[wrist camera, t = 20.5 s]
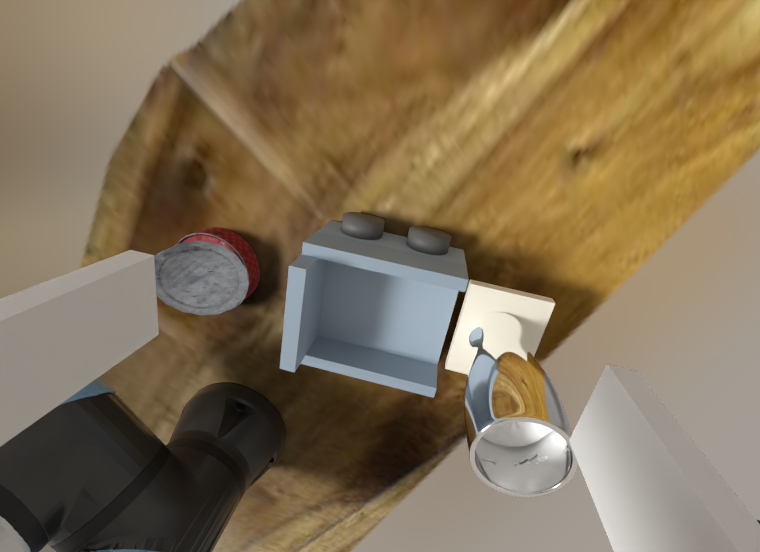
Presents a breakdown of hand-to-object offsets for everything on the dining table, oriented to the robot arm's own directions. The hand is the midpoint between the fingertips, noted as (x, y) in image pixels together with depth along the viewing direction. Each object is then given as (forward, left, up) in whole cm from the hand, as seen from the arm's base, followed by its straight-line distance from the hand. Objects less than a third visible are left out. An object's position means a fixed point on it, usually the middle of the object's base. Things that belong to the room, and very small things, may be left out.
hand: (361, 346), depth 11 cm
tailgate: (0, -13, -26) cm, 29 cm away
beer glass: (+3, -16, -25) cm, 30 cm away
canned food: (-26, -1, -31) cm, 41 cm away
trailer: (-4, -11, -31) cm, 33 cm away
